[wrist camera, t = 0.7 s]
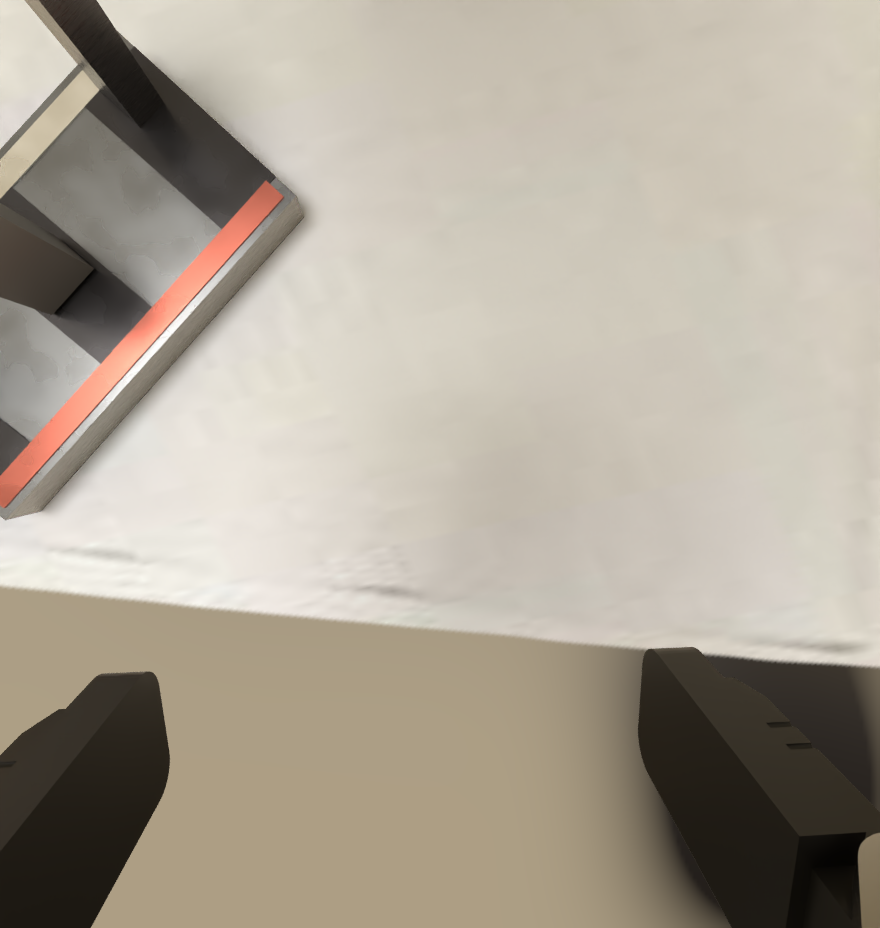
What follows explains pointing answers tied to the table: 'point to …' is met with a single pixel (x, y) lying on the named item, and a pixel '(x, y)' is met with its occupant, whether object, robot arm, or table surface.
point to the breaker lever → (36, 264)
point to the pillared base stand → (118, 247)
